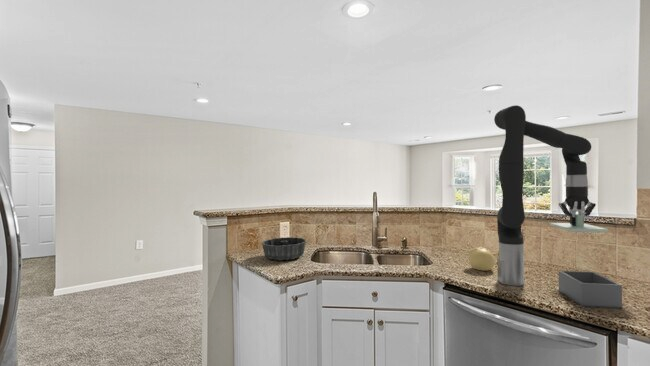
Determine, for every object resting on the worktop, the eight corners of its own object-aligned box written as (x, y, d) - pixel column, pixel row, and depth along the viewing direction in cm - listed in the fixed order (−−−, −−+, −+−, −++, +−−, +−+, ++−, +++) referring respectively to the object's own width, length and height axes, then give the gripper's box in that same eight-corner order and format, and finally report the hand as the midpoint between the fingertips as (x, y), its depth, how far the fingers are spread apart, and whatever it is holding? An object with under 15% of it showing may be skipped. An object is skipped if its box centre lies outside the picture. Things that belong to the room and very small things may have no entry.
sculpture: (489, 266, 165) (489, 245, 165) (498, 273, 153) (498, 250, 153) (466, 265, 166) (465, 245, 166) (473, 272, 155) (472, 250, 154)
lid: (570, 232, 131) (570, 216, 131) (549, 226, 148) (549, 212, 148) (608, 233, 128) (608, 216, 128) (583, 226, 146) (583, 212, 145)
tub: (581, 306, 112) (581, 283, 112) (558, 290, 128) (558, 270, 128) (622, 308, 110) (621, 285, 110) (593, 292, 125) (593, 271, 125)
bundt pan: (255, 263, 181) (255, 245, 181) (269, 252, 207) (269, 236, 207) (301, 263, 177) (301, 245, 177) (310, 252, 203) (309, 237, 203)
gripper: (562, 186, 136) (563, 226, 136) (600, 185, 133) (601, 227, 133) (554, 185, 143) (554, 224, 143) (589, 185, 140) (590, 224, 141)
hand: (577, 225), depth 138 cm, fingers closed on lid
